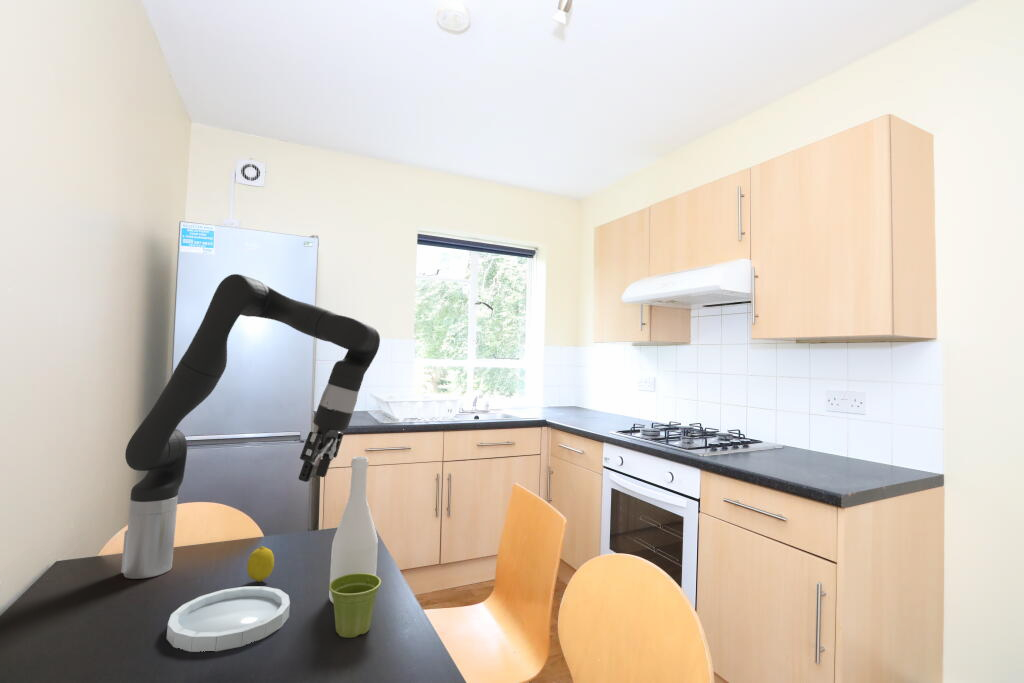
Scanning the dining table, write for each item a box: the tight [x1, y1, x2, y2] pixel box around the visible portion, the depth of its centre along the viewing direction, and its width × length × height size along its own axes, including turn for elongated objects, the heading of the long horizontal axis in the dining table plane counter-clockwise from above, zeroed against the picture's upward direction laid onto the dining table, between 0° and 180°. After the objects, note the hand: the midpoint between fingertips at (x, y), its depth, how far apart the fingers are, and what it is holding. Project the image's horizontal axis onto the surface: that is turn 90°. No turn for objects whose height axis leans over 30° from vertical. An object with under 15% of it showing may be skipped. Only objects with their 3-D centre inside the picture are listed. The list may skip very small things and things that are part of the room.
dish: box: [166, 585, 291, 653], centre depth 93 cm, size 20×20×2 cm
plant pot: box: [328, 573, 382, 639], centre depth 93 cm, size 9×9×9 cm
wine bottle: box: [328, 456, 379, 605], centre depth 106 cm, size 10×10×30 cm
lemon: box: [246, 545, 275, 583], centre depth 112 cm, size 6×6×8 cm
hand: (312, 478), depth 107 cm, fingers open, 8 cm apart
